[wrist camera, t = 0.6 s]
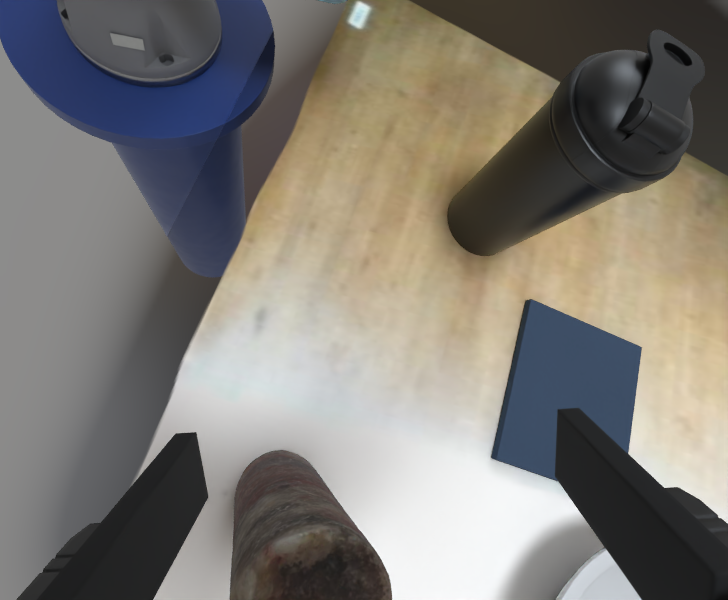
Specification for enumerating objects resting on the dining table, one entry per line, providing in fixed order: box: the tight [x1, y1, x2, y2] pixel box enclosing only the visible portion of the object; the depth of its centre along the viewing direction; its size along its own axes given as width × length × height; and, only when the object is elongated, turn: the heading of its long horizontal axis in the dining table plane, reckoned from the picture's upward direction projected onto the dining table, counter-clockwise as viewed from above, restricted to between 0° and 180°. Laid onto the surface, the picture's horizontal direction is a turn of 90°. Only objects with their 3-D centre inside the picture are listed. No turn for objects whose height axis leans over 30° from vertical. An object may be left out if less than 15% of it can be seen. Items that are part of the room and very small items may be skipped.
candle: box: [230, 450, 392, 600], centre depth 26 cm, size 8×7×20 cm
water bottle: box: [448, 30, 705, 256], centre depth 36 cm, size 10×10×23 cm
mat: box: [492, 299, 642, 481], centre depth 45 cm, size 18×16×1 cm
